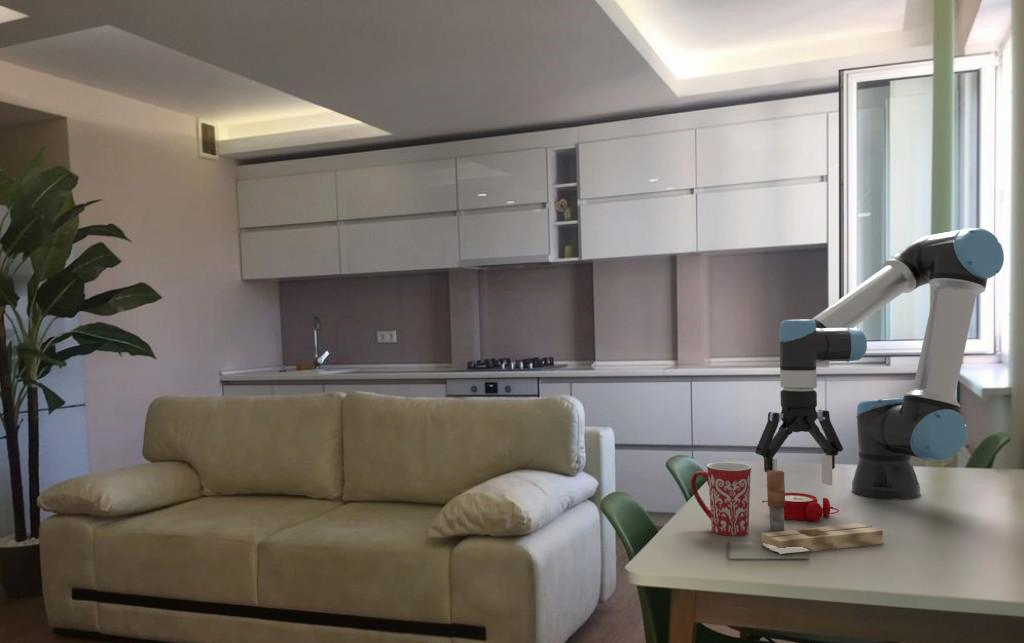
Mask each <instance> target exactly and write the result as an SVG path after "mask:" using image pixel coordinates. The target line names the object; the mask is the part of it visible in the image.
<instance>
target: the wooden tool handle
mask: <svg viewBox="0 0 1024 643" xmlns="http://www.w3.org/2000/svg"><path fill="white" fill-rule="evenodd" d="M766 486H767V487H766V488H767V489H766V490H767V491H766V492H767V495H766V496H767V501H768V502H767V507H769V508H768V510H769V532H777V531H785V518H784V507H785V493H786V488H785V486H786V484H785V471H783V470H778V469H777V470H771V471H767V472H766Z"/></svg>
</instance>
